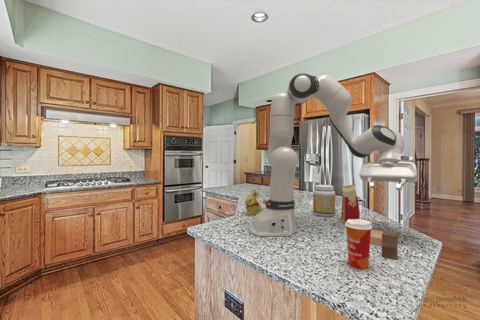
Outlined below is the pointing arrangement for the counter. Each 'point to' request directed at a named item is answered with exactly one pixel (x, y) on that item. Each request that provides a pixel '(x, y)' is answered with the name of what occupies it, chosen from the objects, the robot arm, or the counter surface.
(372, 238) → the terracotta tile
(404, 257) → the counter surface
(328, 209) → the supplement tub
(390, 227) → the counter surface
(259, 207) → the chocolate bunny
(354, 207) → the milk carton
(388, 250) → the walnut block
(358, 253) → the paper cup
